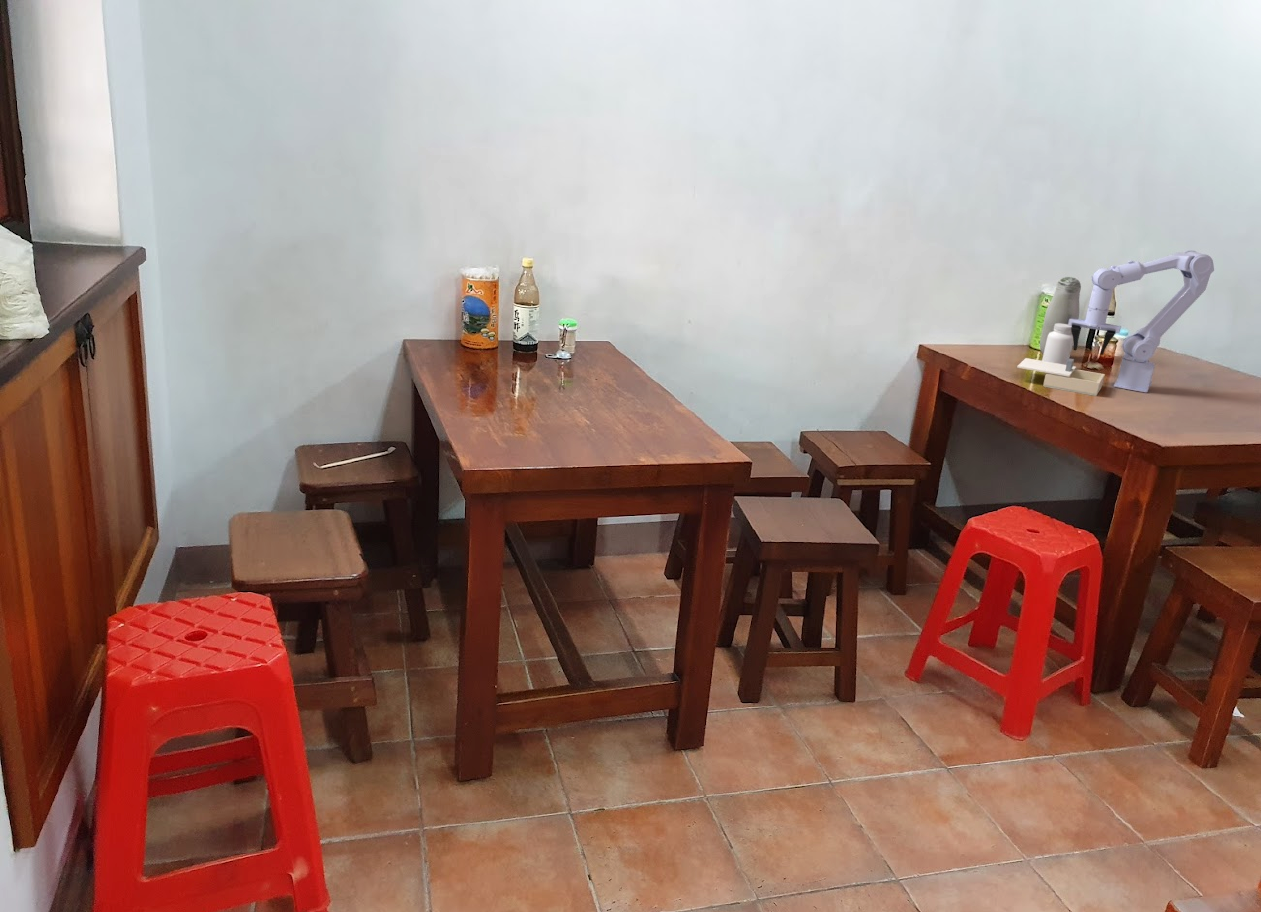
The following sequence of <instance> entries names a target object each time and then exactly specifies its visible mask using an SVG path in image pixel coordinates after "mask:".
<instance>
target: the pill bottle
mask: <svg viewBox="0 0 1261 912" xmlns="http://www.w3.org/2000/svg"><path fill="white" fill-rule="evenodd" d="M1071 327H1072V326H1068V325H1067V324H1061V323H1057V324H1055V326H1054V331H1053V332H1050V333H1049V334H1048V337H1047V341H1046V345H1045V350H1044V354H1042V359H1041V361H1046V362H1052V363H1058V364H1064V365H1067V361H1068V359H1069V358H1070V357H1071V353H1072V348H1073V347H1074V342H1073V335H1071V334H1070V333H1071ZM1070 359H1071V358H1070Z"/></svg>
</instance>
